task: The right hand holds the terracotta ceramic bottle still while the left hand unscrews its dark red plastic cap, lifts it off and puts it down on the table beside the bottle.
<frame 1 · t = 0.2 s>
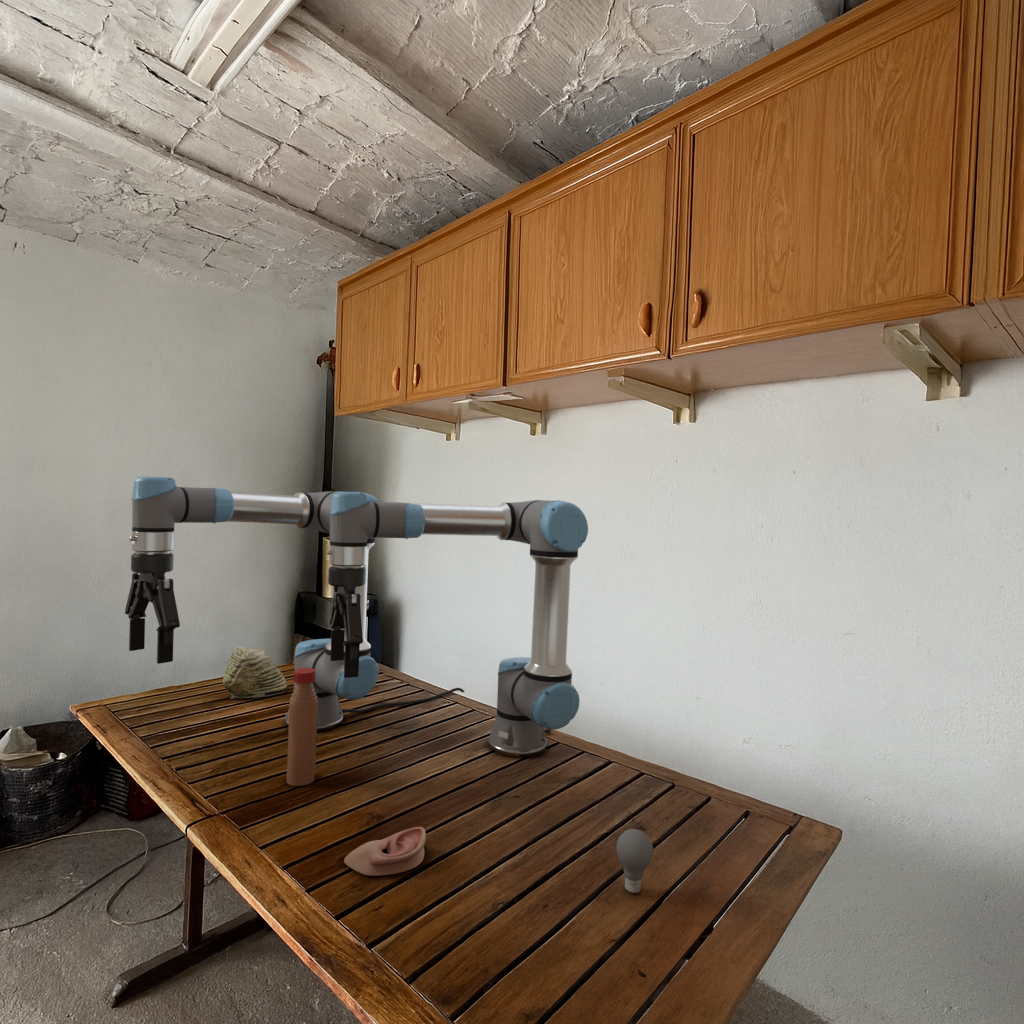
left hand: (150, 656, 129), 29 cm above the table, tool pointing down, fingers open, 13 cm apart
right hand: (343, 668, 131), 28 cm above the table, tool pointing down, fingers open, 13 cm apart
fossil: (254, 694, 198), on the table
bottle: (300, 779, 141), on the table
anatomical model: (385, 859, 112), on the table
cap: (304, 671, 141), point 24 cm above the table, screwed on, not yet turned
light bulb: (632, 891, 106), on the table
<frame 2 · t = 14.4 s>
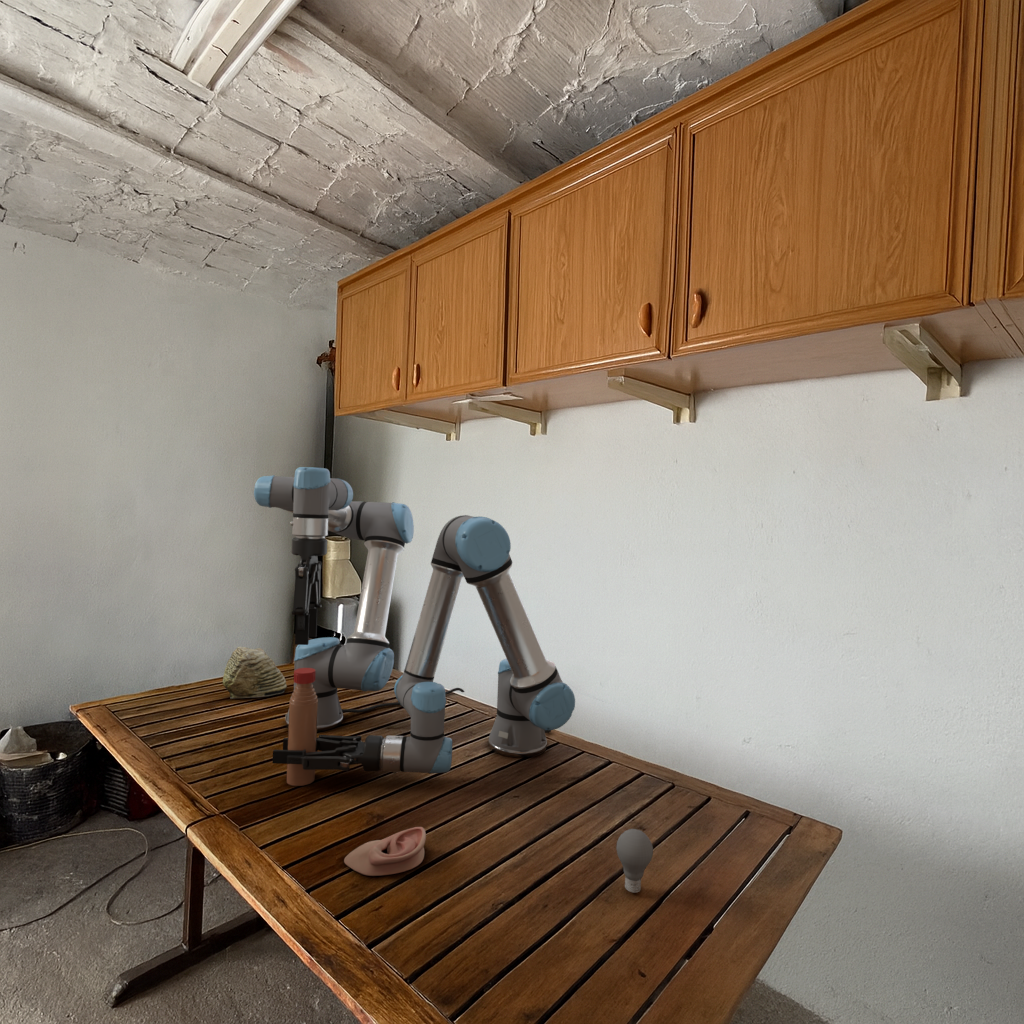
left hand: (306, 640, 141), 31 cm above the table, tool pointing down, fingers open, 7 cm apart
right hand: (278, 750, 141), 6 cm above the table, tool horizontal, fingers closed on bottle, 6 cm apart
bottle: (300, 779, 141), on the table, touching right hand
everything else where it was.
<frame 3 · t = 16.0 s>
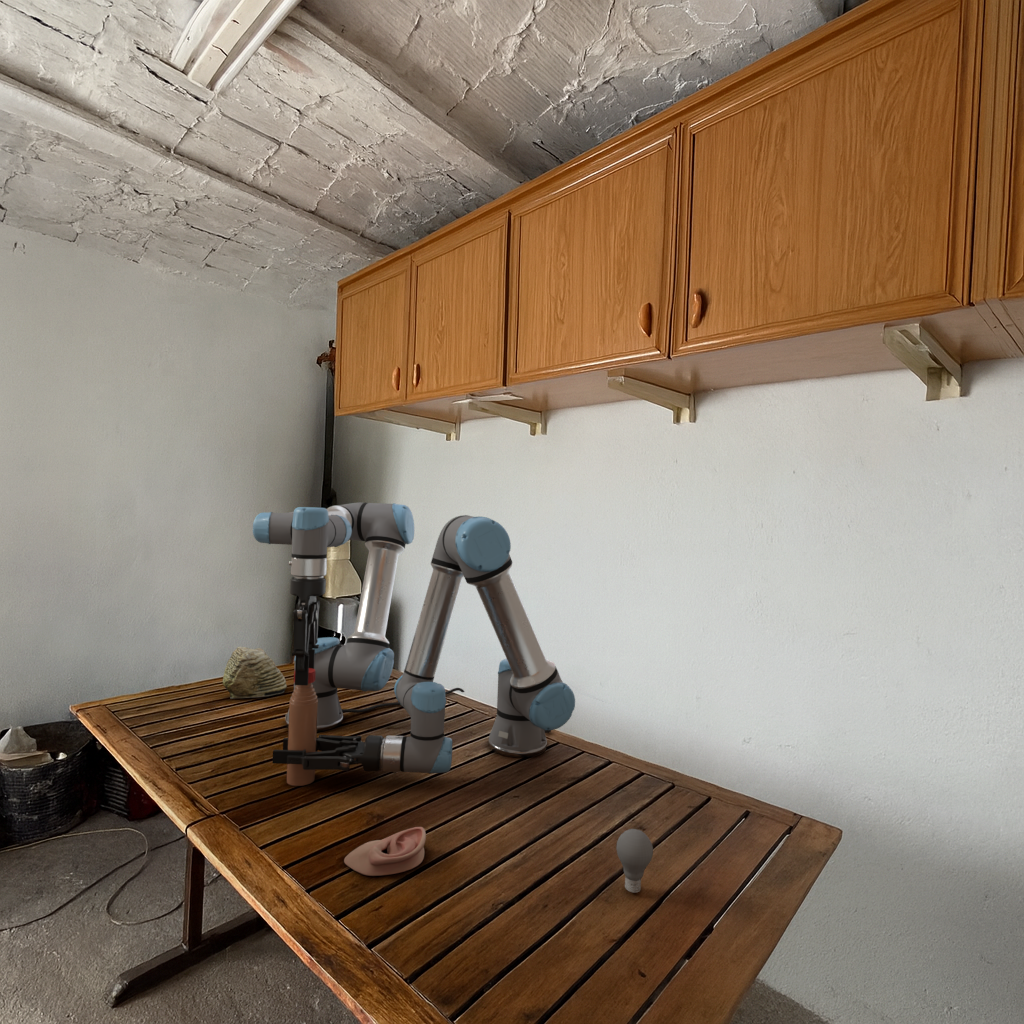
left hand: (304, 681, 141), 22 cm above the table, tool pointing down, fingers closed on cap, 4 cm apart
right hand: (278, 750, 141), 6 cm above the table, tool horizontal, fingers closed on bottle, 6 cm apart
bottle: (300, 779, 141), on the table, touching right hand
cap: (304, 671, 141), point 24 cm above the table, screwed on, not yet turned, touching left hand
everything else where it was.
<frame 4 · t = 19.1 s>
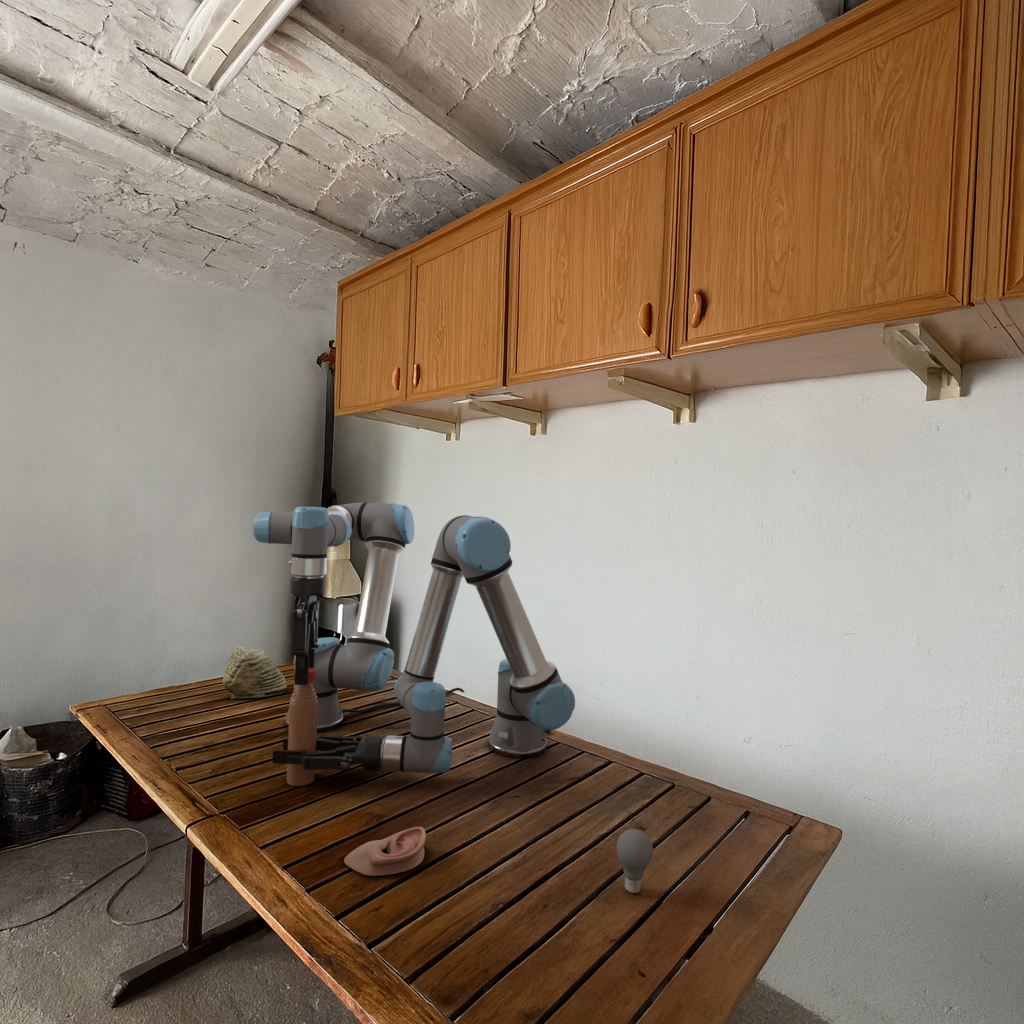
left hand: (304, 680, 141), 22 cm above the table, tool pointing down, fingers closed on cap, 4 cm apart
right hand: (278, 750, 141), 6 cm above the table, tool horizontal, fingers closed on bottle, 6 cm apart
bottle: (300, 779, 141), on the table, touching right hand
cap: (304, 671, 141), point 24 cm above the table, turned 85° so far, risen 0.1 cm, still on its thread, touching left hand
everything else where it was.
when the left hand's fingers open (1 cm above the table, at t = 35.2 s): cap stays where it is, point 2 cm above the table.
when the right hand's fingers open (7 cm above the table, at t = 36.4 s): bottle stays where it is, on the table.
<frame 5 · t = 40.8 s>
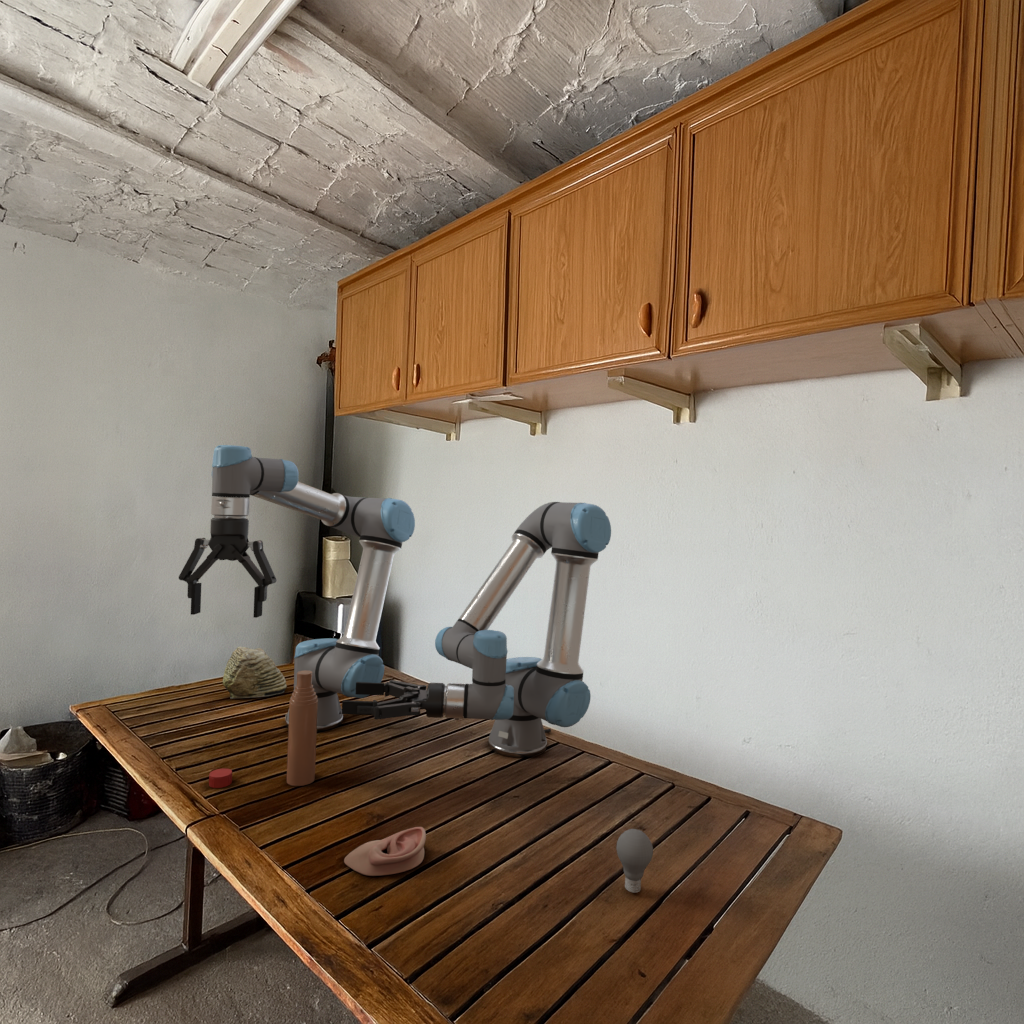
left hand: (226, 615, 137), 37 cm above the table, tool pointing down, fingers open, 13 cm apart
right hand: (349, 697, 141), 19 cm above the table, tool horizontal, fingers open, 13 cm apart
bottle: (300, 779, 141), on the table
cap: (220, 774, 138), point 2 cm above the table, off its thread
everything else where it was.
at the end: cap came off its thread; cap point 2.1 cm above the table; the left hand is holding nothing; the right hand is holding nothing; bottle tilted 0°; bottle moved 0.0 cm from its start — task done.
